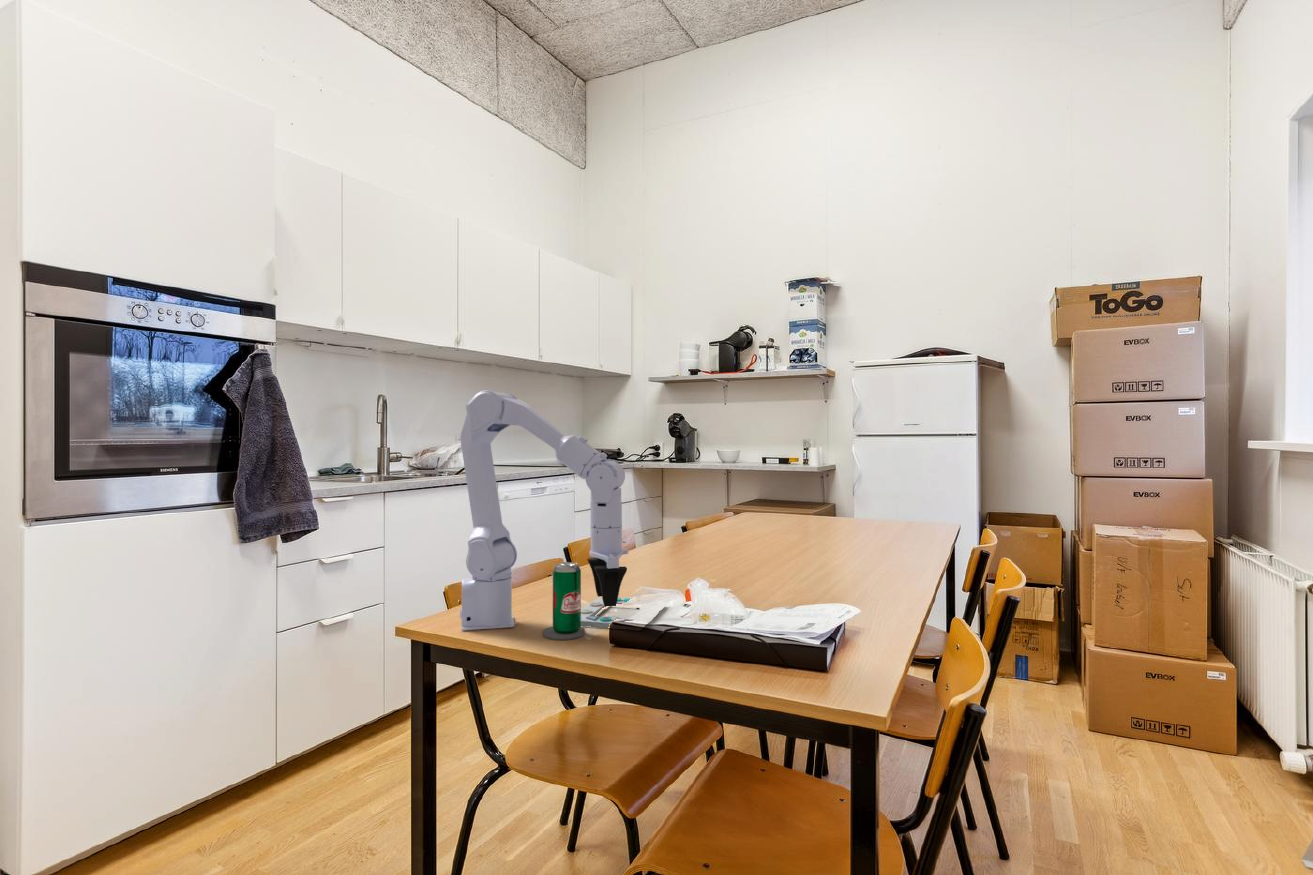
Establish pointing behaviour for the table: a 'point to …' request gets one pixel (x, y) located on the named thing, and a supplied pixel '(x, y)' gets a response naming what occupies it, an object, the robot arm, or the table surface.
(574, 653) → the table surface
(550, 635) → the rubber mat
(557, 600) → the soda can
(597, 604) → the electronic device
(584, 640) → the table surface
